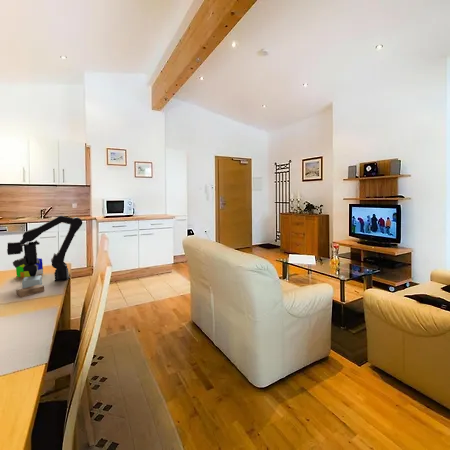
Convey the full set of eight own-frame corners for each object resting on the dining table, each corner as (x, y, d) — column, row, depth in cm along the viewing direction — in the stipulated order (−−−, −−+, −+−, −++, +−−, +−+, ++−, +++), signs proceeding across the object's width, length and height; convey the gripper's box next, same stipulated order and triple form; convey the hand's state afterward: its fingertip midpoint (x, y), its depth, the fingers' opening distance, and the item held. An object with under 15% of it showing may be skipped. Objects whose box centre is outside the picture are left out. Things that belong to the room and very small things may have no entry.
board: (40, 289, 154) (39, 284, 154) (44, 291, 151) (43, 285, 151) (16, 295, 145) (16, 290, 145) (20, 297, 142) (20, 292, 142)
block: (42, 283, 164) (41, 275, 163) (40, 288, 156) (39, 279, 155) (25, 285, 160) (24, 277, 160) (22, 290, 152) (21, 281, 152)
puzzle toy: (43, 273, 183) (42, 258, 182) (28, 278, 174) (26, 262, 173) (32, 272, 187) (30, 257, 185) (16, 276, 177) (15, 261, 176)
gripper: (15, 251, 165) (18, 277, 167) (10, 257, 149) (13, 286, 151) (38, 249, 171) (40, 274, 173) (35, 255, 155) (38, 282, 156)
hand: (32, 279), depth 163 cm, fingers closed
